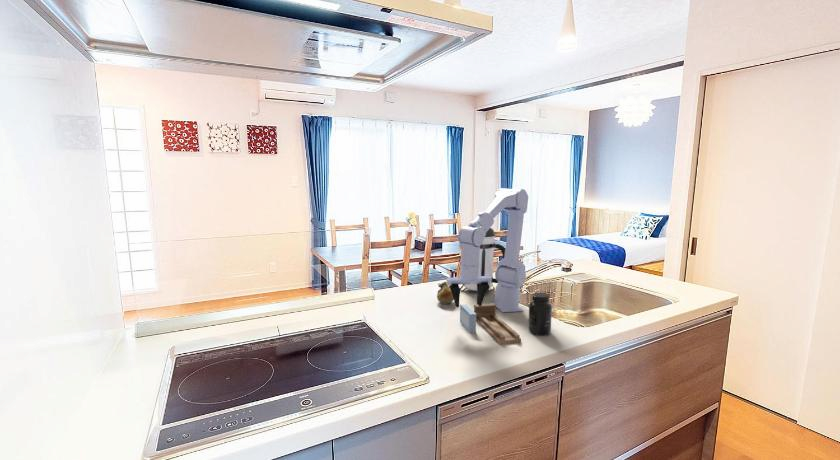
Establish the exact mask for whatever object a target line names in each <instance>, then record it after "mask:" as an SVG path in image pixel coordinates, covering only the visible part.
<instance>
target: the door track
mask: <svg viewBox="0 0 840 460" xmlns="http://www.w3.org/2000/svg"><path fill="white" fill-rule="evenodd" d="M496 308H497V307H496V305H495V304H494V302H492V303H482V306H479V305H478V304H477V303H476V304H474V305H473V311H474V312H475V313H476V324H479V326H480V327H481V328H482V329H483V330H485V332H486V333H488V335H489V336H490V337H491V338H492V339H493V340H494V341H495V342H497V343H498V345H503V344H514V343H521V342H522V338H521V337H520V334H519V333H517V332H516V330H514V329H513V328H512V327H511V326H510V325H508V324H507V323H506V322H505V321H504V320H503V319H501V318H500V317H499V316H498V315H496Z"/></svg>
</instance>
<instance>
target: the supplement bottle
mask: <svg viewBox="0 0 840 460" xmlns="http://www.w3.org/2000/svg"><path fill="white" fill-rule="evenodd" d="M549 296H550V295H549V294H548V293H545V292H534V293H532V298H531V299H532V301H531V302H530V303H529V304H528V305H529V306H528V326H527V328H528V331H529V332H530V333H532V334H533V335H538V336H547V335H549V334H551V332H552V314H553V313H552V311H553V307H552V304H551V303H550V297H549Z"/></svg>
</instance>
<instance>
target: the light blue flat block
mask: <svg viewBox="0 0 840 460" xmlns="http://www.w3.org/2000/svg"><path fill="white" fill-rule="evenodd" d="M459 311H460V312H459V322H460V324H461V325H462V327H464V328H465V329H466V331H468V332H469V333H476V330H477V322H476V313H475V312H474V309H472V308H471V307H470V306H469V305H468V304H466V303H465V304H459Z"/></svg>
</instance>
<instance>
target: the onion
mask: <svg viewBox="0 0 840 460" xmlns="http://www.w3.org/2000/svg"><path fill="white" fill-rule="evenodd" d="M437 286H438V287H439V288H440V289H438V291H437V294H436V299H437V301H438V302H439V303H440V304H443V305H448V304H451V303H452V302H454V298H453V294H452V292H451V289H450V287H449V286H448V285H447V284H446V281H444V282H440V283H438V284H437Z"/></svg>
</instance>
